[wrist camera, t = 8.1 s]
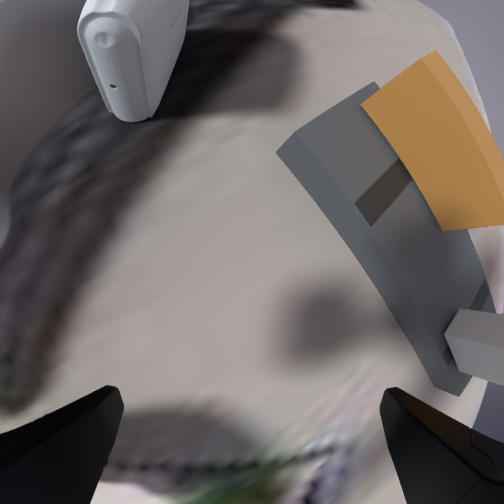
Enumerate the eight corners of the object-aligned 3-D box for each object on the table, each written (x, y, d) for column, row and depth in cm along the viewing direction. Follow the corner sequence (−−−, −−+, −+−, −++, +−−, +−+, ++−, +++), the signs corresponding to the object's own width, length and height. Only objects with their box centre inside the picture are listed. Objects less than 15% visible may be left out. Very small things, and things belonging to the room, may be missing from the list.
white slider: (459, 371, 20) (513, 388, 14) (443, 333, 20) (508, 348, 13) (473, 347, 21) (527, 360, 14) (459, 308, 20) (522, 316, 13)
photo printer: (155, 128, 19) (141, 1, 7) (103, 121, 18) (53, 7, 6) (190, 35, 20) (210, -75, 8) (146, 30, 19) (145, -77, 7)
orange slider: (442, 231, 20) (511, 224, 13) (360, 104, 18) (420, 58, 11) (455, 210, 20) (519, 199, 13) (379, 92, 19) (435, 50, 12)
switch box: (434, 386, 25) (459, 397, 21) (275, 152, 21) (295, 131, 17) (475, 322, 27) (499, 326, 23) (350, 101, 23) (374, 81, 19)
